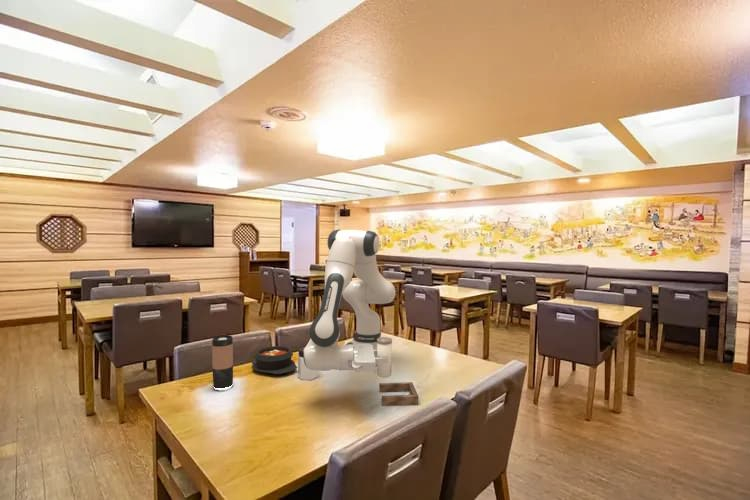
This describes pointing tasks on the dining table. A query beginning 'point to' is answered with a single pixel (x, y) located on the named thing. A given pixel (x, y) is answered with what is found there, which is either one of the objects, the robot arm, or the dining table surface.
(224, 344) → the travel mug
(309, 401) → the dining table surface
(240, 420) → the dining table surface
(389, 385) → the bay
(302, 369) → the jar
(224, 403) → the dining table surface
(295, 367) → the casserole
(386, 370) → the canister
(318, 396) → the dining table surface
